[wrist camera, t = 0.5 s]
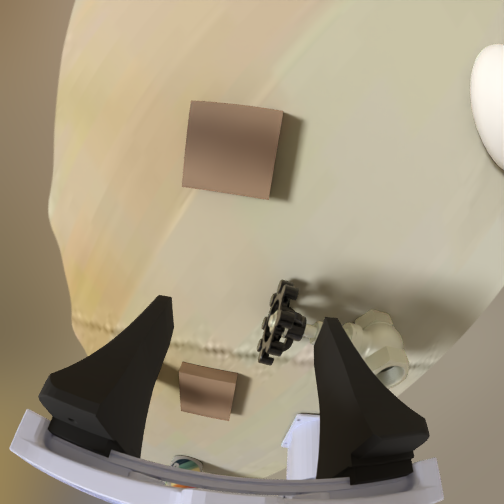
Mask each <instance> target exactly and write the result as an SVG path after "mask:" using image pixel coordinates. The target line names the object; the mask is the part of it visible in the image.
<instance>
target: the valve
mask: <svg viewBox="0 0 504 504" xmlns="http://www.w3.org/2000/svg"><path fill="white" fill-rule="evenodd" d="M298 291H299V290H298V288H296V287H294V284H293V283H292V282H288V281H285V280H281V281H280V283H279V285H278V289H277V293H278V294H273V295H272V297H271V300H270V307H271V308H270V311H269V314H268V317H265V318H264V320H263V323H262V329H263V330H264V332H263V336H262V339H260V340H259V343H258V346H257V351H258V352H260V353H259V357H258V362H259V363H262V364H266V365H272V363H273V361H274V358H271V357H269V354H271V355H275V356H281V354H282V352H284V351H286V350H287V349H289V348H290V347H291V345H292V343H293V340H294V341H300V340H301V338H302V337H303V336H304V337H308V338H310V343H311V344H312V345H314V344H315V342H316V339H317V337H318V334H319V332H320V329H321V327H322V324H323V322H320V321H318V322H316V323H315V324H314V325H313V326H312V325H309V324H306V317H304V316H302V315H301V314H299V313H297V312H295V311H294V310H293V309H292V308H291V307H289V305H290V299H292V300H296V299H297V296H298ZM343 328H344V330H345V332H346V333H347V335H348V337H349V338H350V340H351V342H352V343H353V345H354V346H355V348H356V349H357V351H358V352H359V354H360V355H361V357H362V358H363V360H364V361H365V362H366V364H367V365H368V367H369V368H370V369H371V371H372V372H373V373H374V374H375V375H376V376H377V378H378V379H379V380H380V381H381V382H382V383H383V384H384V385H385V386H386V388H387V389H390V388H392V387H395V386H397V385H398V384H400V383H401V382H402V381H404V380H405V379H406V378H407V375H408V371H409V361H408V358H407V356H406V353H405V351H404V345H403V340H402V337H401V335H400V334H399V332H398V331H397V330H396V329H395V328H394V327H393V322H392V320H391V318H390V316H389V314H387V313H384V312H380V311H377V310H373V309H372V310H370V311H368V312H367V313H365V314H364V315H362V316H361V317H359V318H358V319H356V320H355V324H353V323H349V322H348V323H346V324H344V325H343ZM281 337H283V338H286V339H285V342H284V343H282V342H279V340H280V338H281Z"/></svg>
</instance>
